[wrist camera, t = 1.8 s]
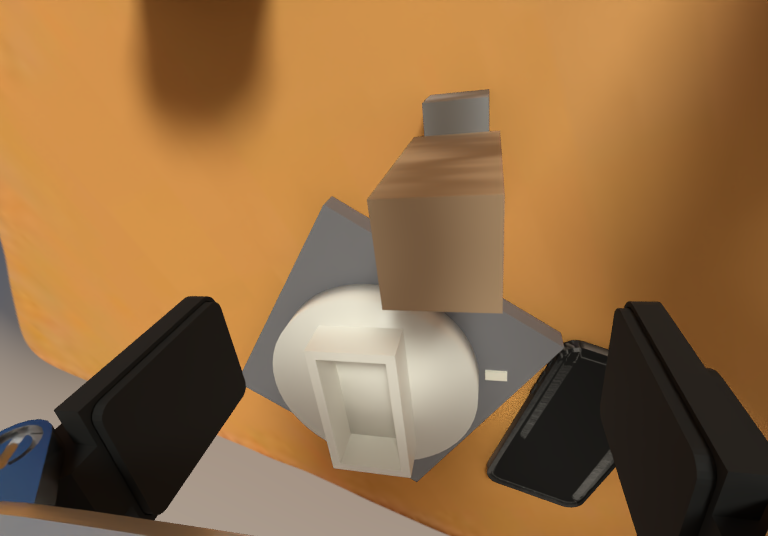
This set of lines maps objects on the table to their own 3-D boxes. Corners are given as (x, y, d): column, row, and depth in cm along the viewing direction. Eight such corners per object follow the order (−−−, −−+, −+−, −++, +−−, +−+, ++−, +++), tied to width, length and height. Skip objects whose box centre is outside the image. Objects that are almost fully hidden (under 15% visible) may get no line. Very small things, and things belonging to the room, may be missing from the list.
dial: (264, 282, 28) (228, 321, 25) (477, 285, 25) (475, 331, 21) (305, 429, 35) (282, 478, 31) (480, 447, 31) (478, 505, 28)
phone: (690, 383, 26) (576, 511, 34) (683, 370, 27) (574, 498, 35) (565, 342, 27) (481, 477, 34) (563, 331, 28) (481, 465, 35)
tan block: (499, 88, 21) (505, 139, 11) (498, 218, 25) (501, 350, 14) (420, 96, 22) (360, 149, 12) (429, 219, 26) (387, 344, 15)
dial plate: (331, 196, 26) (322, 205, 25) (560, 333, 27) (564, 349, 26) (246, 369, 36) (235, 383, 34) (419, 466, 37) (416, 484, 35)
